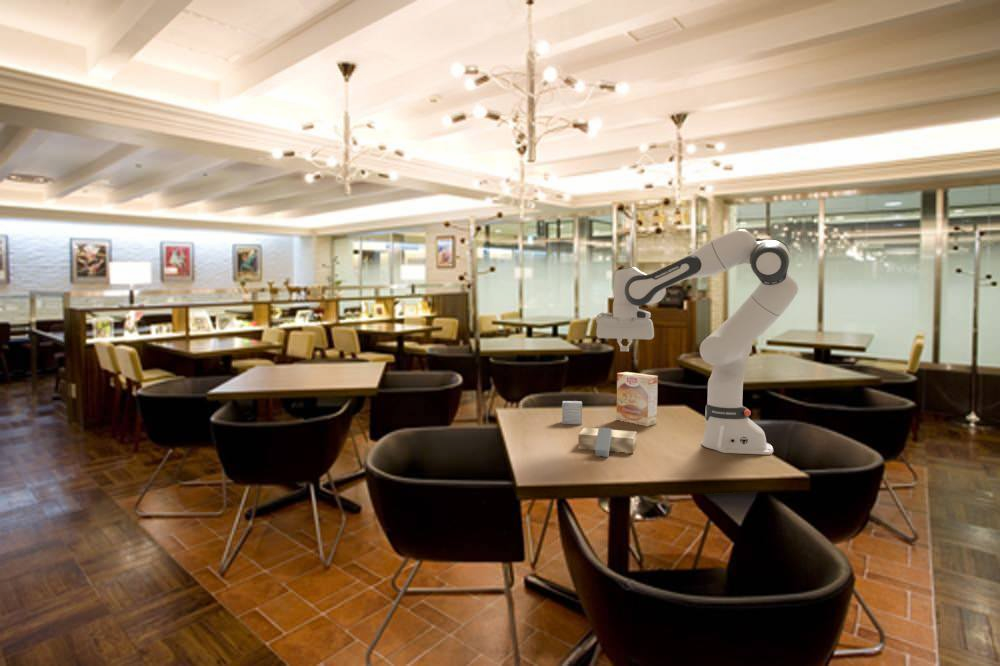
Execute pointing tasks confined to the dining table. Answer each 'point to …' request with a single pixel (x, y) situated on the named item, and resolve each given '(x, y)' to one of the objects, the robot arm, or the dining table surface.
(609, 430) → the pillar
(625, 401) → the coffeecake box
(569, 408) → the medicine box
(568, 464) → the dining table surface
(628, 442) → the block
